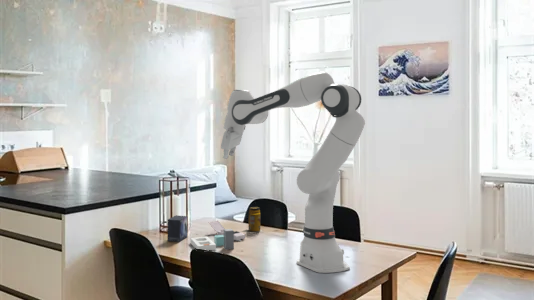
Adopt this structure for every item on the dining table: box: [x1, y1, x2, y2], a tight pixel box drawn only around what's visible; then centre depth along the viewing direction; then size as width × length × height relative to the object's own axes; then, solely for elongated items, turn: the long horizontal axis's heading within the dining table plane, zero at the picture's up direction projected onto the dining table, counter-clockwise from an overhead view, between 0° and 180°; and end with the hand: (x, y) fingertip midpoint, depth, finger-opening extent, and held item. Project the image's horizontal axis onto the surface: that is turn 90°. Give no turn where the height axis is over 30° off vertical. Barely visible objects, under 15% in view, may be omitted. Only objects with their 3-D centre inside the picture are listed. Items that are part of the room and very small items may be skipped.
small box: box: [167, 214, 188, 243], centre depth 249 cm, size 11×6×10 cm, turn 168°
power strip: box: [190, 236, 217, 251], centre depth 235 cm, size 16×8×3 cm, turn 20°
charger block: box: [223, 228, 235, 250], centre depth 232 cm, size 4×4×8 cm
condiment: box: [242, 206, 264, 234], centre depth 266 cm, size 7×8×12 cm
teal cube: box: [213, 234, 224, 247], centre depth 239 cm, size 4×4×4 cm
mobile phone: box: [208, 220, 246, 242], centre depth 255 cm, size 6×6×25 cm
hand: (228, 156), depth 230 cm, fingers open, 8 cm apart
